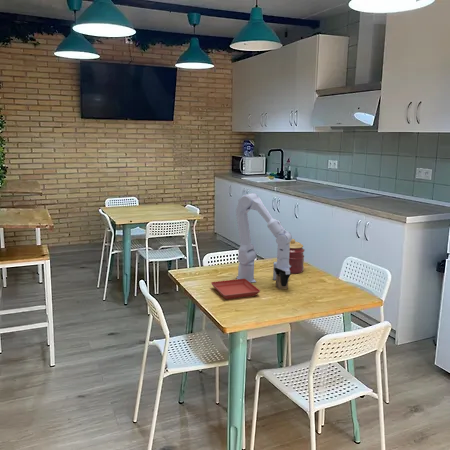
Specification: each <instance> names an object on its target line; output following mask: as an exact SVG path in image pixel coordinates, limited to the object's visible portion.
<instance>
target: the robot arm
mask: <svg viewBox="0 0 450 450" xmlns="http://www.w3.org/2000/svg"><path fill="white" fill-rule="evenodd" d="M237 201H238V202H237V205H236V209H235V214H236V215H235V216H236V221H237V228H238V229H237V231H238V235H239V236H238V237H239V245H240V246H239V248H238V251H237V252H238V255H237V261H238V266H237V267H238V269H237V276H236V277H235V278H236V279H246V280H247V281H249V282H250V283H251V284H253V283H257V281H256V279H255V260H256V259H257V257H258V255H257V254H258V253H257V252H256V250H255V247H254V245H253V244H252V239H251V231H250V224H249V215H248V212H249V211H250V210H252V211H256V212H258V213H259V215H260V216H261V217H262V218H263V219H264V221H265V222H266V224H267V228H268V230H269V231H270V232H271V234H272V235H273V236H274V237H275V242H276V244H277V253H276V254H277V256H276V261H275V262H276V268H274V267H273V268H274V270H275V272H276V274H280V278H281V285H282V286H286V285H287V281H288V282H289V280H288V279H290V277H291V275H292V273H291V272H290V270H289V268H291V266H290V265H289V252H290V242H291V240H292V239H293V236H292V234H291V232H290V231H287V230H286V229H285V228H284V226H282V224H281V221H280V220H278V219H275V218H273V216H272V215H271V213H270V211H268V208H267V207H266V206H265V205H264V203H263V201H262V199H261V197H259V195H258V194H257V193H255V192H251V193H250V192H249V193H247V194H243V195H241V196H240V197H239V198H238V199H237Z"/></svg>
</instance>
